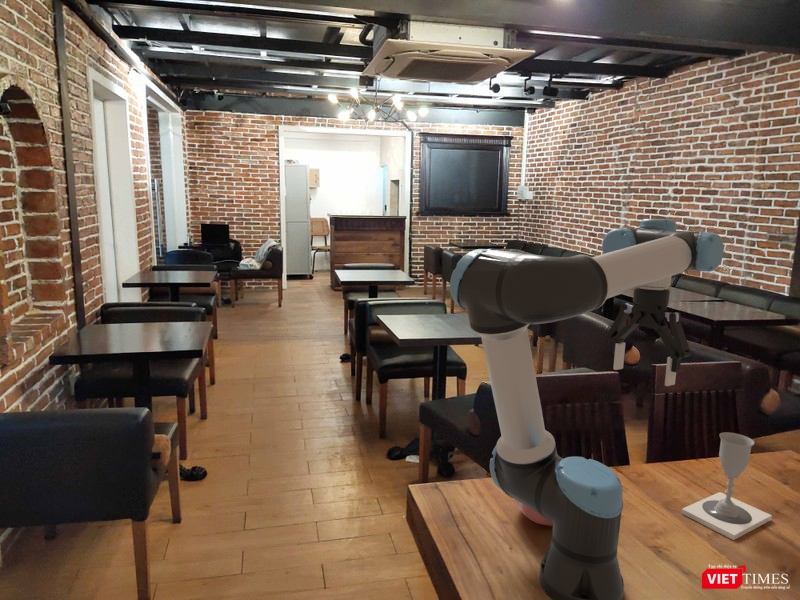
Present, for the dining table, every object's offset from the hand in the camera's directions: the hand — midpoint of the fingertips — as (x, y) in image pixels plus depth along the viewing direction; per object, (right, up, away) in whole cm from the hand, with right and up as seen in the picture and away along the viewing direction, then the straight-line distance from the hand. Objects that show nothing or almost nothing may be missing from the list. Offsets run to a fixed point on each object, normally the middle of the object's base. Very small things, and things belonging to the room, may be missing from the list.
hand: (642, 376), depth 129 cm
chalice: (+19, -32, -1) cm, 37 cm away
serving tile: (+19, -33, 0) cm, 38 cm away
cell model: (-23, -32, -2) cm, 40 cm away
